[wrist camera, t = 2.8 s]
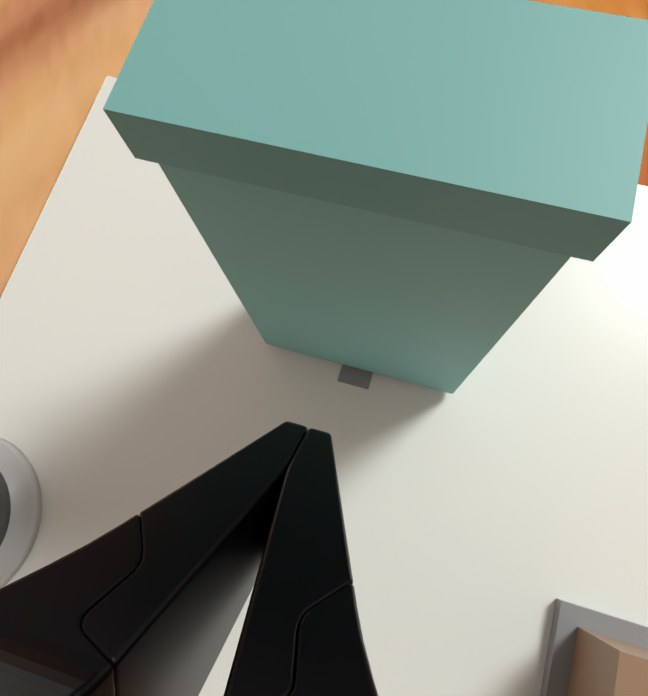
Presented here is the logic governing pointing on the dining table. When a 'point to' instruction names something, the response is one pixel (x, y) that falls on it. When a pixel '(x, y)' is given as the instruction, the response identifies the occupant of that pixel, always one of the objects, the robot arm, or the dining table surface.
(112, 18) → the dining table surface
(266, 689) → the robot arm
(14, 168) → the dining table surface
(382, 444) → the console
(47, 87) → the dining table surface
